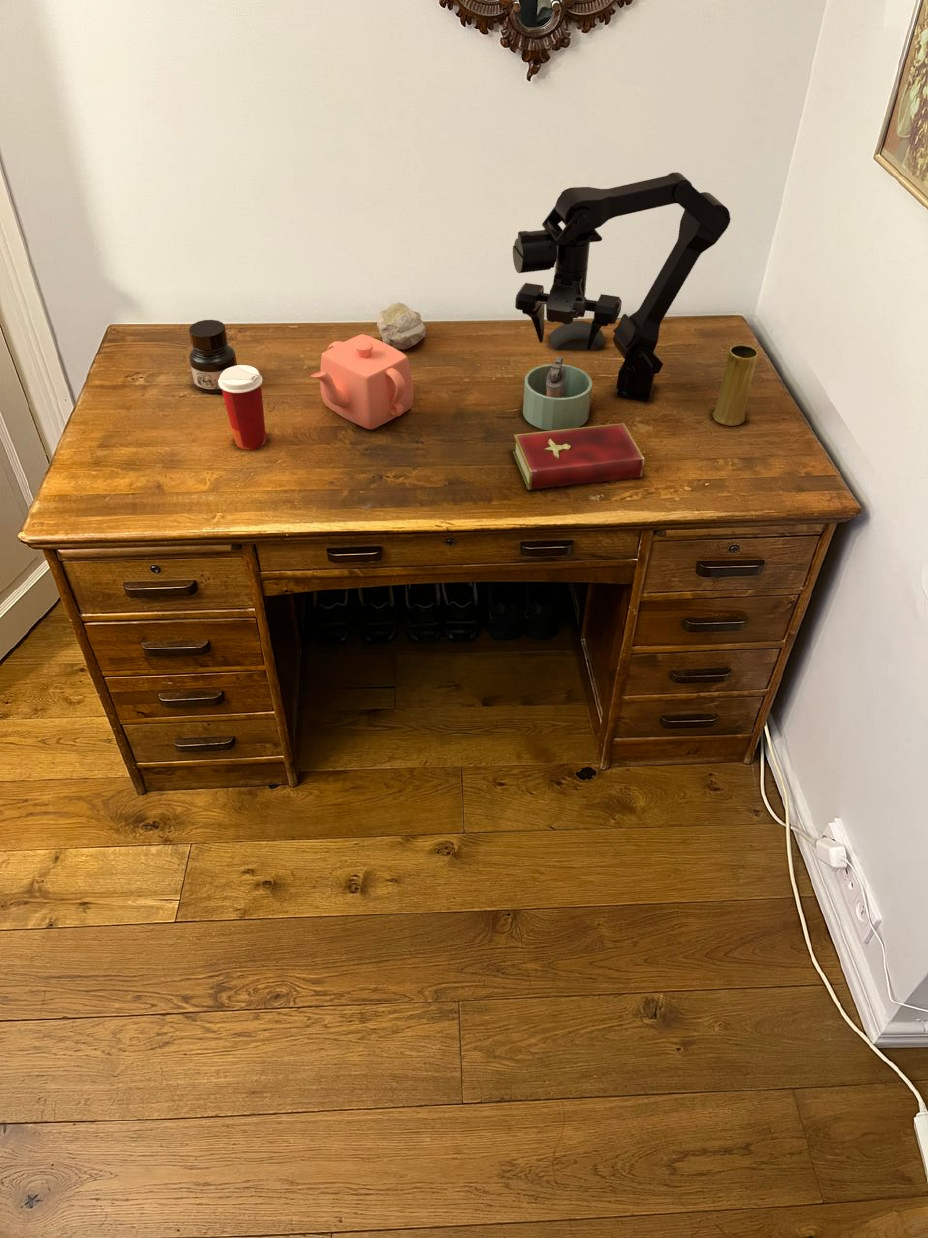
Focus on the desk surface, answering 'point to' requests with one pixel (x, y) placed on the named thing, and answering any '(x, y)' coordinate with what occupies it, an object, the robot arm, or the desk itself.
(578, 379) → the pen pot
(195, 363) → the ink bottle
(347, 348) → the teapot
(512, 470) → the desk surface
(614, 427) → the hardcover book
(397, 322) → the grey rock
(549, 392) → the lighter
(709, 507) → the desk surface
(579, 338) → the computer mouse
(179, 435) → the desk surface
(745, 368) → the vase
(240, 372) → the paper cup
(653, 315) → the robot arm
